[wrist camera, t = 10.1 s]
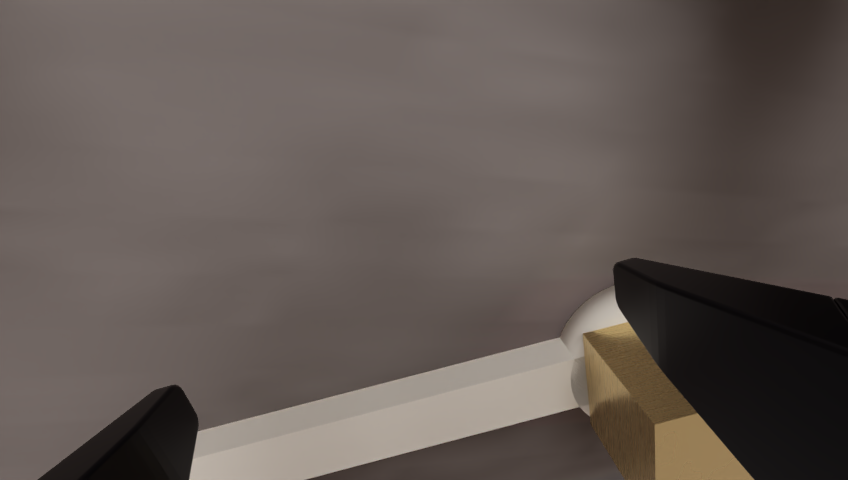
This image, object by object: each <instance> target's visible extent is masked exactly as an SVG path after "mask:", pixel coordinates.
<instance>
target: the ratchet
mask: <svg viewBox="0 0 848 480" xmlns="http://www.w3.org/2000/svg"><path fill="white" fill-rule="evenodd" d="M626 322H628V321H627V320H626V318H625V317H624V315H623V314H622V312H621V311H620V309H619V307H618V305H617V302H616V298H615V286H614V285H613V286H611V287H609V288H606V289H604V290H602V291H601V292H599V293H597V294H595V295H594V296H592V297H591V298H590V299H588V300H587V301H586V302H585V303H583V304H582V305H581V306H580V307H579V308H578V309H577V310H576V311H575V312H574V313H573V315H572V316H571V317H570V319H569V320H568V322H567V323H566V325H565V327H564V328H563V330H562V333H561V335H560V337H559V338H555V339H551V340H548V341H544V342H540V343H536V344H532V345H528V346H525V347H521V348H517V349H513V350H509V351H505V352H501V353H498V354H494V355H490V356H486V357H482V358H478V359H475V360H471V361H467V362H463V363H459V364H455V365H451V366H448V367H444V368H440V369H436V370H432V371H428V372H425V373H421V374H417V375H413V376H409V377H405V378H401V379H398V380H394V381H390V382H386V383H382V384H378V385H375V386H371V387H367V388H363V389H359V390H355V391H351V392H348V393H344V394H340V395H336V396H332V397H328V398H325V399H321V400H317V401H313V402H309V403H305V404H302V405H298V406H294V407H290V408H286V409H282V410H278V411H275V412H271V413H267V414H263V415H259V416H255V417H252V418H248V419H244V420H240V421H236V422H232V423H228V424H225V425H221V426H217V427H213V428H209V429H205V430H202V431H198V433H197V438H196V444H195V450H194V455H193V461H192V467H191V472H190V478H189V480H306V479H310V478H313V477H317V476H321V475H325V474H328V473H332V472H336V471H340V470H344V469H347V468H351V467H355V466H359V465H362V464H366V463H370V462H374V461H378V460H381V459H385V458H389V457H393V456H396V455H400V454H404V453H408V452H411V451H415V450H419V449H423V448H427V447H430V446H434V445H438V444H442V443H445V442H449V441H453V440H457V439H461V438H464V437H468V436H472V435H476V434H479V433H483V432H487V431H491V430H494V429H498V428H502V427H506V426H510V425H513V424H517V423H521V422H525V421H528V420H532V419H536V418H540V417H544V416H547V415H551V414H555V413H559V412H562V411H566V410H570V409H574V408H577V407H580V408H581V409H582V410H583V411H584V412H585V413H586V414H587V415H589V416H590V411H589V400H588V389H587V378H586V367H585V356H584V344H583V333H587V332H591V331H595V330H599V329H602V328H606V327H610V326H614V325H618V324H622V323H626Z"/></svg>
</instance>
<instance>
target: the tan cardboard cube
mask: <svg viewBox="0 0 848 480" xmlns="http://www.w3.org/2000/svg"><path fill="white" fill-rule="evenodd" d="M583 344H584V356H585V367H586V378H587V389H588V400H589V411H590V422H591V425H592V427H593V429H594V430H595V432H596V434H597V435H598V437H599V438H600V440H601V442H602V443H603V445H604V446H605V448H606V450H607V451H608V453H609V455H610V456H611V458H612V459H613V461H614V463H615V464H616V466H617V467H618V469H619V471H620V472H621V474H622V476H623V477H624V479H625V480H754V479H753V478H752V477H751V476H750V474H749V473H748V472H747V471H746V470H745V468H744V467H743V466H742V465H741V464H740V463H739V461H738V460H737V459H736V458H735V457H734V456H733V454H732V453H731V452H730V451H729V450H728V448H727V447H726V446H725V445H724V444H723V443H722V441H721V440H720V439H719V438H718V437H717V436H716V434H715V433H714V432H713V431H712V430H711V428H710V427H709V426H708V425H707V424H706V423H705V421H704V420H703V419H702V418H701V417H700V416H699V414H698V413H697V412H696V411H695V410H694V408H693V407H692V406H691V405H690V404H689V403H688V401H687V400H686V399H685V398H684V397H683V395H682V394H681V393H680V392H679V391H678V390H677V388H676V387H675V386H674V385H673V384H672V383H671V381H670V380H669V379H668V378H667V377H666V375H665V374H664V373H663V372H662V370H661V369H660V368H659V367H658V365H657V364H656V362H655V361H654V360H653V358H652V357H651V355H650V354H649V352H648V351H647V349H646V348H645V346H644V345H643V343H642V342H641V341H640V339H639V338H638V336H637V335H636V333H635V332H634V330H633V329H632V327H631V326H630V324H629V323H628V322H626V323H622V324H618V325H614V326H610V327H606V328H602V329H599V330H595V331H591V332H587V333H583Z"/></svg>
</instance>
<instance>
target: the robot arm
mask: <svg viewBox="0 0 848 480" xmlns="http://www.w3.org/2000/svg"><path fill="white" fill-rule="evenodd" d="M613 274H614V286H615V298H616V302H617V305H618V307H619V309H620V311H621V312H622V314H623V315H624V317H625V318H626V320H627V321H628V323H629V324H630V326H631V327H632V329H633V330H634V332H635V333H636V335H637V336H638V338H639V339H640V341H641V342H642V343H643V345H644V346H645V348H646V349H647V351H648V352H649V354H650V355H651V357H652V358H653V360H654V361H655V362H656V364H657V365H658V367H659V368H660V369H661V370H662V372H663V373H664V374H665V375H666V377H667V378H668V379H669V380H670V381H671V383H672V384H673V385H674V386H675V387H676V388H677V390H678V391H679V392H680V393H681V394H682V395H683V397H684V398H685V399H686V400H687V401H688V403H689V404H690V405H691V406H692V407H693V408H694V410H695V411H696V412H697V413H698V414H699V416H700V417H701V418H702V419H703V420H704V421H705V423H706V424H707V425H708V426H709V427H710V428H711V430H712V431H713V432H714V433H715V434H716V436H717V437H718V438H719V439H720V440H721V441H722V443H723V444H724V445H725V446H726V447H727V448H728V450H729V451H730V452H731V453H732V454H733V456H734V457H735V458H736V459H737V460H738V461H739V463H740V464H741V465H742V466H743V467H744V468H745V470H746V471H747V472H748V473H749V474H750V476H751V477H752V478H753V479H754V480H848V300H846V299H841V298H835V299H834V300H833V298H832V297H830V296H825V295H820V294H815V293H810V292H805V291H800V290H795V289H790V288H785V287H780V286H775V285H770V284H765V283H760V282H755V281H750V280H745V279H740V278H735V277H730V276H725V275H720V274H715V273H709V272H704V271H699V270H694V269H689V268H684V267H679V266H674V265H669V264H664V263H659V262H654V261H649V260H644V259H639V258H631V259H627V260H623V261H620V262H617V263H616V264H615V265H614V268H613ZM198 426H199V424H198V417H197V414H196V412H195V411H194V409H193V407H192V405H191V404H190V402H189V400H188V398H187V397H186V395H185V393H184V391H183V390H182V389H181V387H179V386H177V385H170V386H167V387H163V388H160V389H156V390H154V391H153V392H151V393H150V394H149V395H147V396H146V397H145V398H143V399H142V400H141V401H140V402H138V403H137V404H136V405H134V406H133V407H132V408H130V409H129V410H128V411H127V412H125V413H124V414H123V415H121V416H120V417H119V418H117V419H116V420H115V421H113V422H112V423H111V424H110V425H108V426H107V427H106V428H104V429H103V430H102V431H100V432H99V433H98V434H97V435H95V436H94V437H93V438H91V439H90V440H89V441H87V442H86V443H85V444H83V445H82V446H81V447H80V448H78V449H77V450H76V451H74V452H73V453H72V454H70V455H69V456H68V457H67V458H65V459H64V460H63V461H61V462H60V463H59V464H57V465H56V466H55V467H53V468H52V469H51V470H50V471H48V472H47V473H46V474H44V475H43V476H42V477H40V478H39V479H38V480H189V478H190V472H191V467H192V461H193V455H194V450H195V444H196V438H197V433H198Z"/></svg>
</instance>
